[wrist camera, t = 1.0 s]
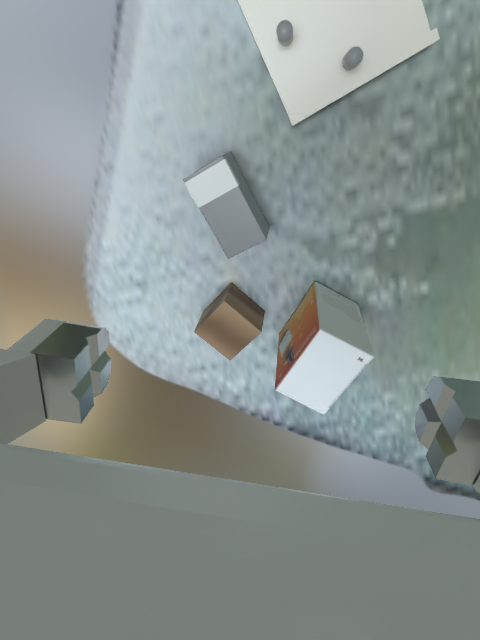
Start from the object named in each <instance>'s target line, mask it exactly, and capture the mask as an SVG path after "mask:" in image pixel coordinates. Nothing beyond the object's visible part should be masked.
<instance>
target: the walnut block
mask: <svg viewBox="0 0 480 640" xmlns="http://www.w3.org/2000/svg"><path fill="white" fill-rule="evenodd" d="M263 318H264V310H263V309H262V308H261V307H260V306H259V305H257V304H256V303H255V302H254V301H253V300H252V299H250V298H249V297H248V296H247V295H246V294H245V293H243V292H242V291H241V290H240V289H239V288H238V287H236V286H235V285H234V284H233V283H232V282H231V283H230V284H229V285H228V286H227V287H226V288H225V289H224V290H223V291H222V292H221V294H220V295H219V296H218V297H217V298H216V299H215V300H214V301H213V302H212V303H211V304H210V305H209V306H208V307H207V308H206V309H205V310H204V311H203V314H202V316H201V318H200V320H199V322H198V324H197V327H196V329H195V331H194V332H195V333H196V334H197V335H199V336H200V337H201V338H202V339H204V340H205V341H206V342H207V343H209V344H210V345H211V346H212V347H214V348H215V349H216V350H217V351H219V352H220V353H221V354H222V355H224V356H225V357H226V358H227V359H229V360H231V359H232V358H233V357H235V356H236V355H237V354H238V353H239V352H240V351H241V350H242V349H243V348H244V347H245V346H247V345H248V344H249V343H250V342H251V341H252V340H253V339H254V338H255V337H256V336H258V335H259V334H260V333H261V331H262V325H263Z"/></svg>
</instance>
